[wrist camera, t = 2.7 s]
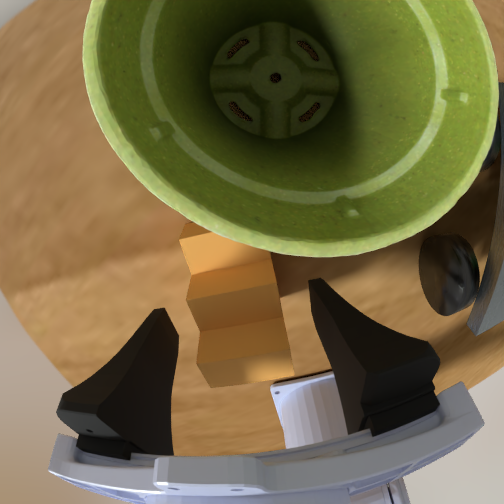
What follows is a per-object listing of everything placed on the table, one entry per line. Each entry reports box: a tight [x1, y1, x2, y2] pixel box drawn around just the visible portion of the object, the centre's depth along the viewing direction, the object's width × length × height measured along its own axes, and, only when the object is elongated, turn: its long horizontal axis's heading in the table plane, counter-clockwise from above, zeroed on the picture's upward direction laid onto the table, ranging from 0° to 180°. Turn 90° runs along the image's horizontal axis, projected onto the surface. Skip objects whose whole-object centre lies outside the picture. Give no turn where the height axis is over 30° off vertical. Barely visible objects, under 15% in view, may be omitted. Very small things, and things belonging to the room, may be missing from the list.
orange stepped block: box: [179, 222, 294, 388], centre depth 13 cm, size 6×4×6 cm, turn 12°
